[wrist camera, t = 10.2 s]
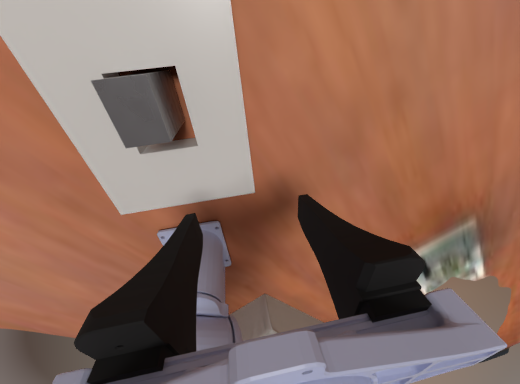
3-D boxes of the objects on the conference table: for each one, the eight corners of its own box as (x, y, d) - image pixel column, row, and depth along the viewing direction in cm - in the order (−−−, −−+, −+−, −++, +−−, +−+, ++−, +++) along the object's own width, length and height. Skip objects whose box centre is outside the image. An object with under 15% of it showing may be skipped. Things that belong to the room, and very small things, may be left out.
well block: (252, 180, 23) (255, 192, 21) (130, 200, 22) (121, 214, 20) (221, -52, 13) (220, -74, 11) (-12, -37, 12) (-62, -58, 10)
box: (335, 323, 54) (264, 290, 38) (350, 358, 48) (272, 336, 32) (272, 353, 61) (187, 335, 44) (277, 387, 55) (181, 381, 38)
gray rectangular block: (185, 120, 18) (170, 142, 13) (152, 124, 18) (125, 148, 13) (169, 70, 16) (145, 74, 11) (132, 74, 16) (90, 80, 11)
